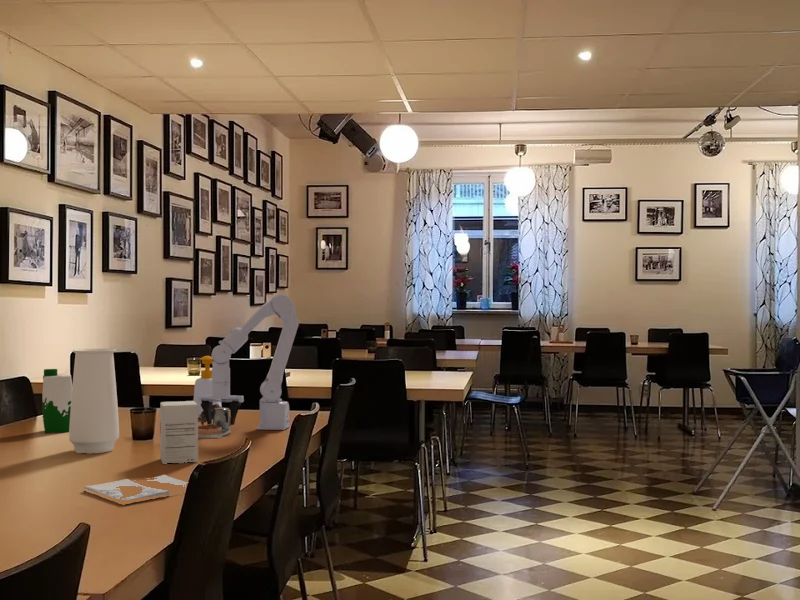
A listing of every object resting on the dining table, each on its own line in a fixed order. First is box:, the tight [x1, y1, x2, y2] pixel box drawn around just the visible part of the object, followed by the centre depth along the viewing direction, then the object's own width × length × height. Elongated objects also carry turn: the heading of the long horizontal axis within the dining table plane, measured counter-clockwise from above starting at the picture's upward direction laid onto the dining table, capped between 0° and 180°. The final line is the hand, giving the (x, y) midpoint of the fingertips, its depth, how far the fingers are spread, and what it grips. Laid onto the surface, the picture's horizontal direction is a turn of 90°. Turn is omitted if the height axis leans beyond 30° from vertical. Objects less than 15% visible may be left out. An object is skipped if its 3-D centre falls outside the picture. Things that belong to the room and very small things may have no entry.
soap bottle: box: [193, 355, 223, 419], centre depth 295 cm, size 10×14×22 cm
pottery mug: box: [200, 404, 232, 427], centre depth 272 cm, size 12×10×8 cm
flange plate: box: [198, 424, 232, 439], centre depth 250 cm, size 12×12×2 cm
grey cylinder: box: [212, 407, 230, 430], centre depth 260 cm, size 5×5×7 cm
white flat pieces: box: [83, 474, 188, 500], centre depth 173 cm, size 19×20×2 cm
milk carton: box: [41, 368, 73, 434], centre depth 259 cm, size 9×9×20 cm
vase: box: [68, 348, 120, 455], centre depth 223 cm, size 13×13×28 cm
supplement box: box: [159, 400, 199, 465], centre depth 208 cm, size 9×9×15 cm
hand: (221, 424), depth 260 cm, fingers open, 7 cm apart
